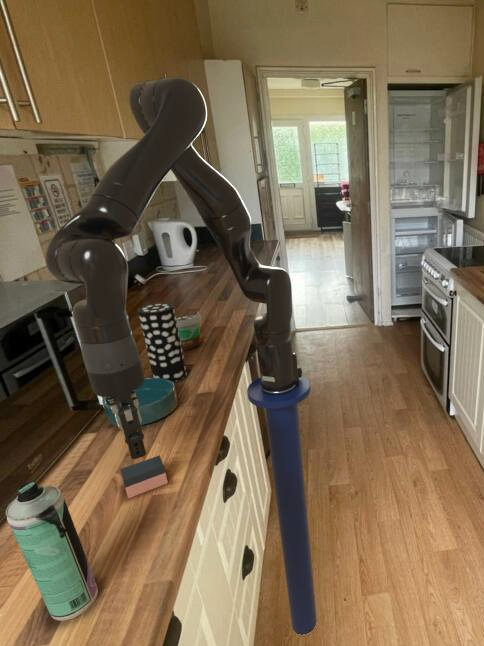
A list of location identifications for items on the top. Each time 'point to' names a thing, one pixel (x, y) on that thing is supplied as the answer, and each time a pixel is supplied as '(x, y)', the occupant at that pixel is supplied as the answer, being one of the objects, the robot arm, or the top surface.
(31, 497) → the spray can
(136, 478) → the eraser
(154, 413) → the bowl
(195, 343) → the food container
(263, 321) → the robot arm
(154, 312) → the spotted tube
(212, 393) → the top surface
